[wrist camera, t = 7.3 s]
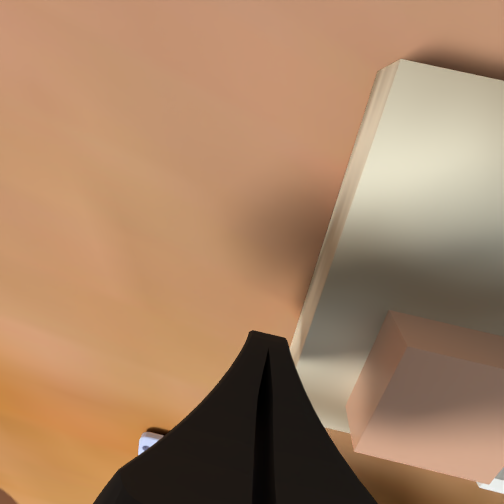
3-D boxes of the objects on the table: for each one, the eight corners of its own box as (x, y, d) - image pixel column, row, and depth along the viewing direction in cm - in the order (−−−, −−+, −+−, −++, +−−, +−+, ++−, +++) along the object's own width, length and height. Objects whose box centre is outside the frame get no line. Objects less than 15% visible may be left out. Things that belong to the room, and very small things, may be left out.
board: (453, 416, 16) (479, 465, 14) (281, 374, 16) (279, 416, 14) (643, 128, 11) (740, 131, 8) (377, 71, 11) (401, 59, 8)
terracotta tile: (461, 434, 13) (488, 484, 12) (345, 406, 13) (353, 451, 12) (526, 342, 11) (572, 385, 9) (389, 309, 11) (407, 346, 10)
